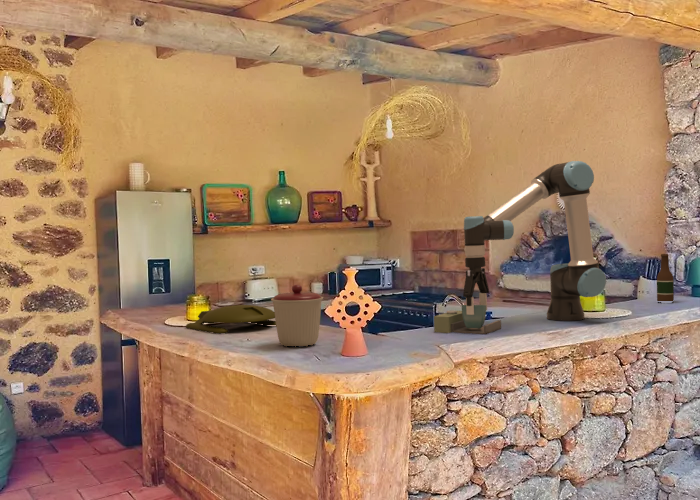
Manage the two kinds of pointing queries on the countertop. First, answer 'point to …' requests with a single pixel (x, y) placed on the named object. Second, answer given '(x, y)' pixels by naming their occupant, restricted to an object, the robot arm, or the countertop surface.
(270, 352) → the countertop surface
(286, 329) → the canister
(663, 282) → the beer bottle
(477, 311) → the flower pot
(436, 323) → the olive stepped block
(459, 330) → the chute
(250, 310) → the spaceship
